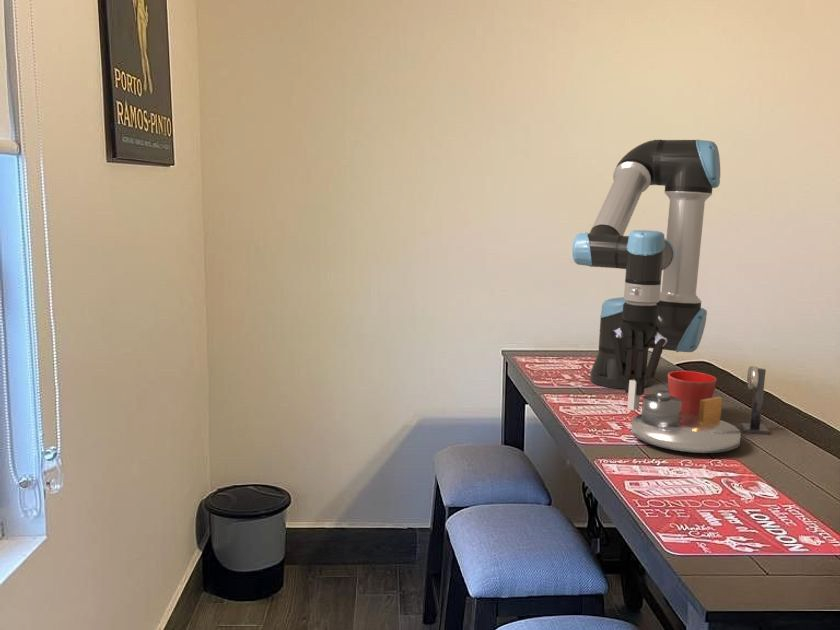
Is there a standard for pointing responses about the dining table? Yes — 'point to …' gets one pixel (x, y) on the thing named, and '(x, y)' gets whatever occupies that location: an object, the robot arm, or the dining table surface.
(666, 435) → the turntable
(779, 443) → the dining table surface
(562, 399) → the dining table surface
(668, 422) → the cover
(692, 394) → the flower pot
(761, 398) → the dial post
